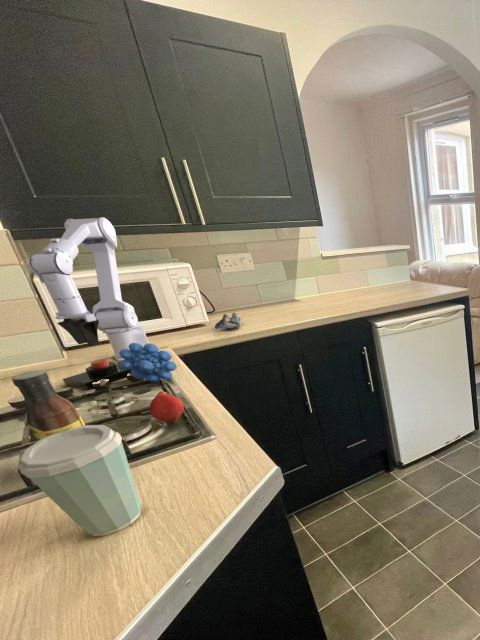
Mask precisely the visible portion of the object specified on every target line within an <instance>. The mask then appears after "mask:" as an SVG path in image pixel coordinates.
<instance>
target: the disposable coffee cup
mask: <svg viewBox="0 0 480 640" xmlns="http://www.w3.org/2000/svg"><path fill="white" fill-rule="evenodd" d="M122 440H123V437H122V436H121V434H120V433H119V432H118V431H114V430H113V429H112V428H110V427H108V426H106V425H104V424H85V425H84V426H80V427H76V428H72V429H68V430H65V431H62V432H59V433H56V434H53V435H51V436H48V437H46V438H43V439H41V440H39V441H38V440H37V442H35V443H34V444H31V445H30V446H29V447H27V448H26V449H25V450H24V452H22V453H23V454H22V455H21V457H20V459H19V461H20V463H19V464H18V466H17V468H18V469H19V472H20V474H21V475H23V476H24V477H26V478H28V479H30V480H31V481H32V482H33V483H34V484H35V485H36V486H37V487H38V488H39V489H40V490H41V491H42V492H43V493H45V494H46V495H47V497H49V498H50V500H51V501H52V502H54V503H55V504H56V505H57V506H58V507H59V508H60V509H61V510H62V511H63V512H64V513H65V514H66V515H67V516H68V517H69V518H70V519H71V520H72V521H73V522H74V524H76V525H77V526H78V527H79V528H81V530H83V532H85V533H86V534H88V535H91V536H92V537H94V538H95V537H96V538H97V537H105V536H108V535H109V536H110V535H112V534H116V533H117V532H120V531H122V530H123V529H125V528H127V527H128V526H130V525H132V524H133V523H134V522H135V521H136V520H137V519H138V518H140V516H141V512H142V503H141V500H140V497H139V494H138V490H137V487H136V484H135V480H134V477H133V474H132V471H131V467H130V464H129V461H128V457H127V454H126V451H125V448H124V444H123V442H122Z"/></svg>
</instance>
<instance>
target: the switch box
mask: <svg viewBox="0 0 480 640" xmlns="http://www.w3.org/2000/svg"><path fill="white" fill-rule="evenodd" d="M120 362H121V361H116V362H115V361H108V363H109V365H108V366H106V367H102V368H97V369H93V368H92V366H91V365H90V366H88V367H86V368H85V372H81V373H78V374H75V375H71V376H68V377H65V378H62V381H63V383H64V385H65V386H66V387H68V388H69V387H70V388H75V389H80V390H86V391H91V390H94V389H97V388H98V387H93V385H92V383H93V382H97V381H99V380H101V379H109V382H110V383H109V384H112V383H114V382H117V381H120V380H124V379H127V378H128V377H127V374H128V373H129V374H131V373H130V372H131V370H126V369H124V368H122V367H121V365H120Z"/></svg>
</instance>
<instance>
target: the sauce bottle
mask: <svg viewBox="0 0 480 640" xmlns="http://www.w3.org/2000/svg"><path fill="white" fill-rule="evenodd" d="M11 381H12V384H13V385H14V386H15V387H16V388H18V390H19V391H20V394H21V395H22V396H23V399H24V402H25V412H26V424H27V425H28V427H29V429H30V430H31V432H32V433H33V435H34V436H35V438H36V440H37V442H38V441H39V440H41V439H43V438H46V437H48V436H51V435H53V434H56V433H59V432H62V431H65V430H68V429H72V428H76V427H80V426H84V425H86V424H85V421H84V420H83V418H82V417H81V415H80V414H79V413H78V411H77V409H76V407H75V405H74V403H72V402H71V401H70V400H68V399H67V398H65V397H62V395H61V396H60V395H59V394H58V393H57V390H56V389H55V388H54V387H53V385H52V383H51V381H50V377H49V374H48V373H47V371H46V370H43V369H36V370H35V369H34V370H30V371H25V372H22V373H19V374H16V375H14V376H12V377H11Z"/></svg>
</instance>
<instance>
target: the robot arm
mask: <svg viewBox="0 0 480 640" xmlns="http://www.w3.org/2000/svg"><path fill="white" fill-rule="evenodd" d="M63 226H64V229H65V231H64V232H63V234H62V236H61V237H59V238H51V239H50V240H49V243H48V244H47V246H46V247H45V248H43V249H42V251H41V252H40V253H37V254H36V253H35V254H33V255H32V256H31V257H29V259H28V265H29V269H30V270H31V272H32V273H33V274H34V275H36V276H37V278H38V280H39V282H41V283H42V284H44V286H45V287H46V290H47V292H48V294H49V295H50V297H51V300H52V301H53V304H54V305H55V308H56V310H57V312H55V316H54V317H55V319H56V320H62V321H58V322H57V325H58V326H59V327H61V328H62V329H64V330H65V331H66V332H68V334H69V335H70V336H71V337H72V338H73V340H74V341H75V342H76V343H77V344H78V345H83V344H87V345H88V346H90V347H91V346H95V345H99V344H100V342H99V335H98V334H99V333H98V331H99V332H101V333H102V334H105V335H106V337H107V339H108V342H109V344H110V346H111V348H112V350H113V352H114V355H113V357H114V359H115V360H116V362H121V361H122V360H124V359H123V358H122V357H121V356H120V354H119V352H120V350H122V349H129V345H130V344H131V343H139V344H141V345H142V346H143V347H144V345H146V344H151V343H150V341H149V339H148V337H147V334H146V332H145V330H144V328H143V327H142V326H138V323H139V319H138V316H137V314H136V311H135V307H134V306H132V305H131V304H129V303H128V302H126V301H123V298H122V291H121V285H120V278H119V272H118V265H117V258H116V252H115V249H116V248H118V239H117V233H116V229H115V227H114V226H113V224H112V222H110V221H109V219H107V218H106V217H103V216H102V217H93V218H92V217H91V218H68V219H66V221H65V222H64V223H63ZM78 246H81V247H82V248H83V249H84V250H87V251H90V252H92V254H93V259H94V260H93V261H94V265H95V274H96V281H97V286H98V292H99V293H98V294H99V299H100V300H99V301H98V302H97V303H96V304H94V305H93V306H92V313H91V312H90V311H89V310H88V308H87V306H86V305H85V303H84V300H83V298H82V296H81V294H80V292H79V290H78V288H77V285H76V284H75V281H74V279H73V277H72V273H74V265H73V264H74V260H75V259H76V257H77V256H78V255H79V253H80V252H79V247H78ZM129 350H130V349H129Z"/></svg>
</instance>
